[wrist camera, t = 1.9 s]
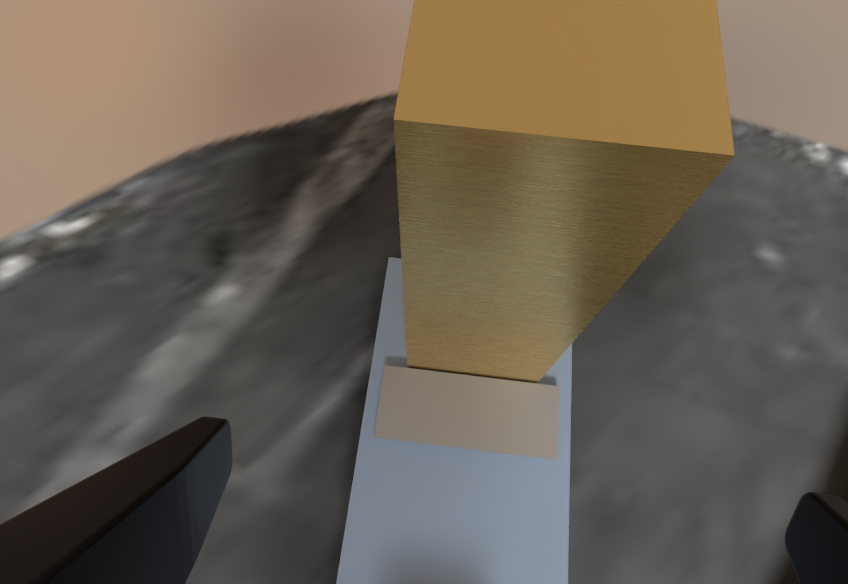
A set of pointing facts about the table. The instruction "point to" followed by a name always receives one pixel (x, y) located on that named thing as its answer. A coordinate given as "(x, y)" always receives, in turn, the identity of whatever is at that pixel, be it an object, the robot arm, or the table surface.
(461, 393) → the plane body
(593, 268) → the tan tall block
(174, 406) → the table surface
